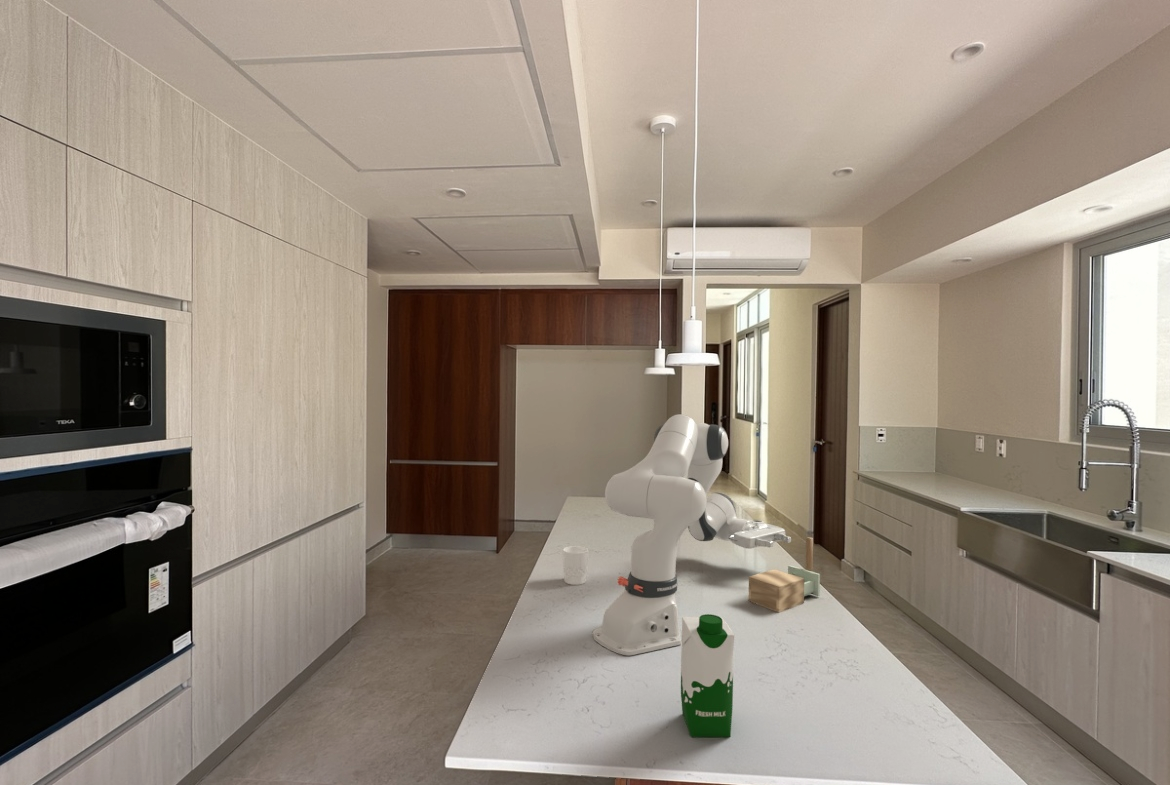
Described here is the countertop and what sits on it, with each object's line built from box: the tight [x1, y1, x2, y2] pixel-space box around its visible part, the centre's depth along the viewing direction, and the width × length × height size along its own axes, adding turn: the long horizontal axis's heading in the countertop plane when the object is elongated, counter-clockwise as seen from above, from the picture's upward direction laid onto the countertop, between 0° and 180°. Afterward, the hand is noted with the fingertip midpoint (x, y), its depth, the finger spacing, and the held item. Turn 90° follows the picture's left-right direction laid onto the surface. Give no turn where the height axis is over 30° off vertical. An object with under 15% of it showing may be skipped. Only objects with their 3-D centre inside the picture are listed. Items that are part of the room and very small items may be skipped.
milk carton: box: [680, 613, 735, 738], centre depth 100 cm, size 9×9×20 cm
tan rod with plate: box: [787, 536, 821, 597], centre depth 165 cm, size 15×10×16 cm, turn 127°
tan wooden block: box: [748, 568, 805, 613], centre depth 159 cm, size 12×10×7 cm
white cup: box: [562, 545, 589, 586], centre depth 173 cm, size 8×8×10 cm
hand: (780, 542), depth 177 cm, fingers open, 8 cm apart
